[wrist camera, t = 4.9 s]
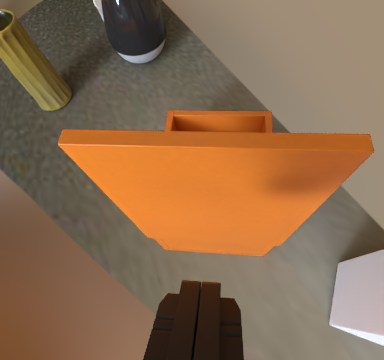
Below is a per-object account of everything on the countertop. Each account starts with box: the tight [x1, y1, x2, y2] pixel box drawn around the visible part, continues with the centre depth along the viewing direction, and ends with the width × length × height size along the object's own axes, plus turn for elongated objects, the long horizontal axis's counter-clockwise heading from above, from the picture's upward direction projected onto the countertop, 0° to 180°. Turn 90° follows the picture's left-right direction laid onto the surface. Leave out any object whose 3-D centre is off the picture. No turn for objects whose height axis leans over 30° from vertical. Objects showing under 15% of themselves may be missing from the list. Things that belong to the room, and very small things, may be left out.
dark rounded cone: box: [101, 0, 166, 63], centre depth 43 cm, size 10×10×15 cm
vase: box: [0, 9, 72, 111], centre depth 41 cm, size 6×6×14 cm
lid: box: [58, 129, 374, 246], centre depth 18 cm, size 16×13×1 cm
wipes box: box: [154, 111, 274, 256], centre depth 33 cm, size 16×13×9 cm
